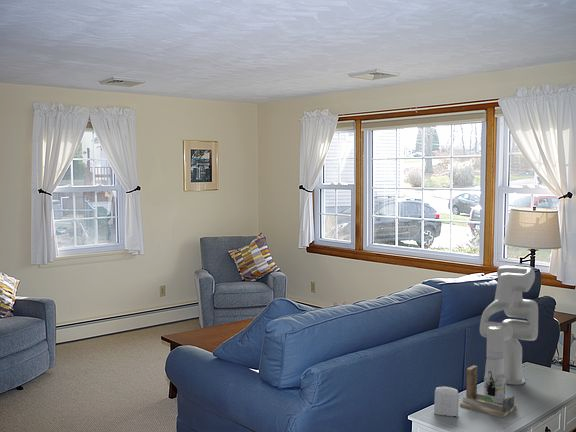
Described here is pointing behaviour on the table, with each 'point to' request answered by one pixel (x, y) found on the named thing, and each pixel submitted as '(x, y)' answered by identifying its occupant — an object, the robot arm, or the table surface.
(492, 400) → the ink box
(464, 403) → the rail board
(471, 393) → the end bracket
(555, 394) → the table surface
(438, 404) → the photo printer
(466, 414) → the table surface
